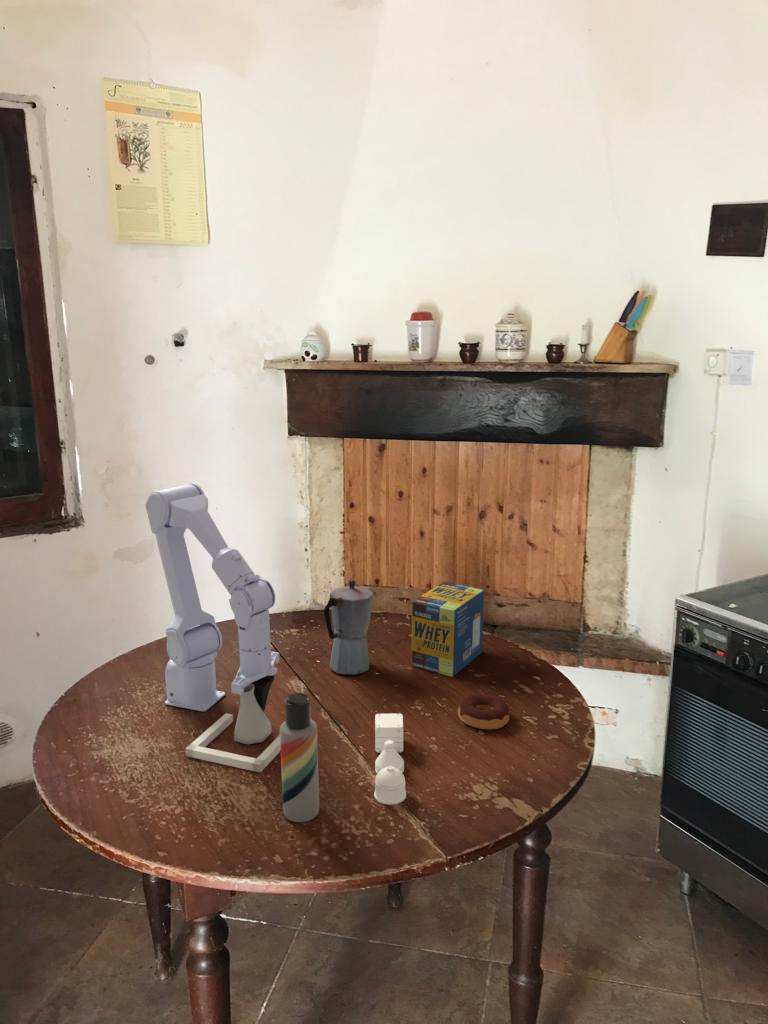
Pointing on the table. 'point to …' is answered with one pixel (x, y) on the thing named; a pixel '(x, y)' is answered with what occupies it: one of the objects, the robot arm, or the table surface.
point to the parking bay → (235, 760)
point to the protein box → (447, 628)
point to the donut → (483, 711)
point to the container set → (389, 759)
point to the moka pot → (349, 628)
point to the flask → (251, 719)
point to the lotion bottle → (299, 760)
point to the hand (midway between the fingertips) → (258, 712)
